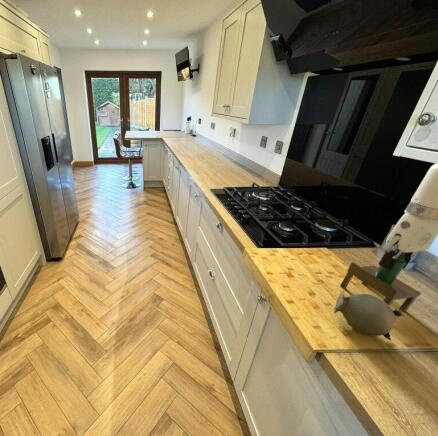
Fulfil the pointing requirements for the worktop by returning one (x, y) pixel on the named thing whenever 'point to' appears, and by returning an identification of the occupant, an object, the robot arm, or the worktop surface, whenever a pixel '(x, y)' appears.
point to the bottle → (392, 274)
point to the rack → (382, 285)
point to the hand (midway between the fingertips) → (391, 266)
